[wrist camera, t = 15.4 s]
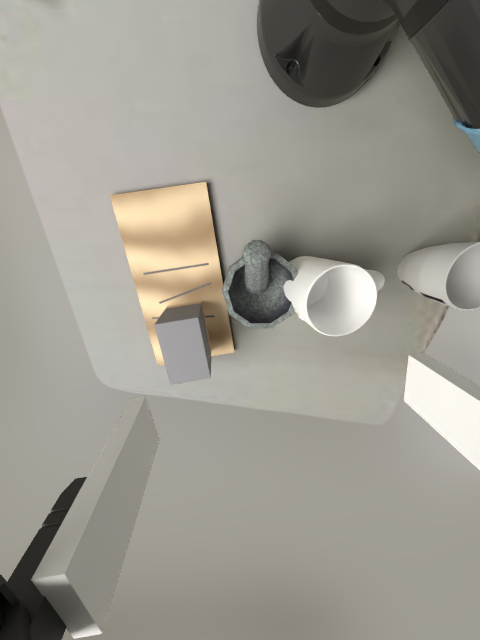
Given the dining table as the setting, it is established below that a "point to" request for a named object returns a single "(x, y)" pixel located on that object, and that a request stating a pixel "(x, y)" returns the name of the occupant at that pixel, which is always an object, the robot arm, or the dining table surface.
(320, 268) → the mug
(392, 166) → the dining table surface
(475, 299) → the cup
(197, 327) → the block
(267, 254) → the mortar and pestle
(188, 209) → the board
